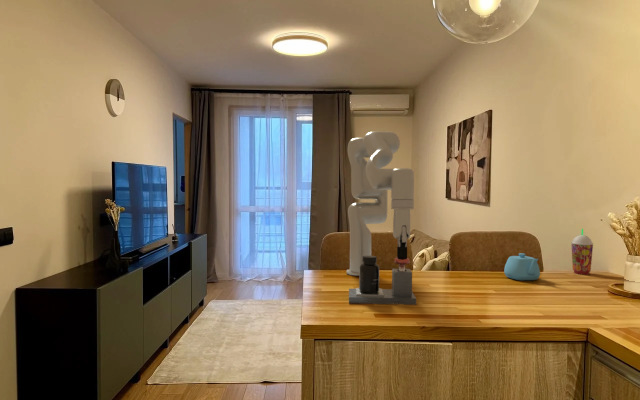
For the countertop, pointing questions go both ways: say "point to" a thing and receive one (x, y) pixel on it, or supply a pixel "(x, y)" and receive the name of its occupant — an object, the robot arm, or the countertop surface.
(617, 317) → the countertop surface
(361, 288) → the supplement bottle
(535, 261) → the teapot
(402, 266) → the plunger
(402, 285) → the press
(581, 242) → the smoothie
